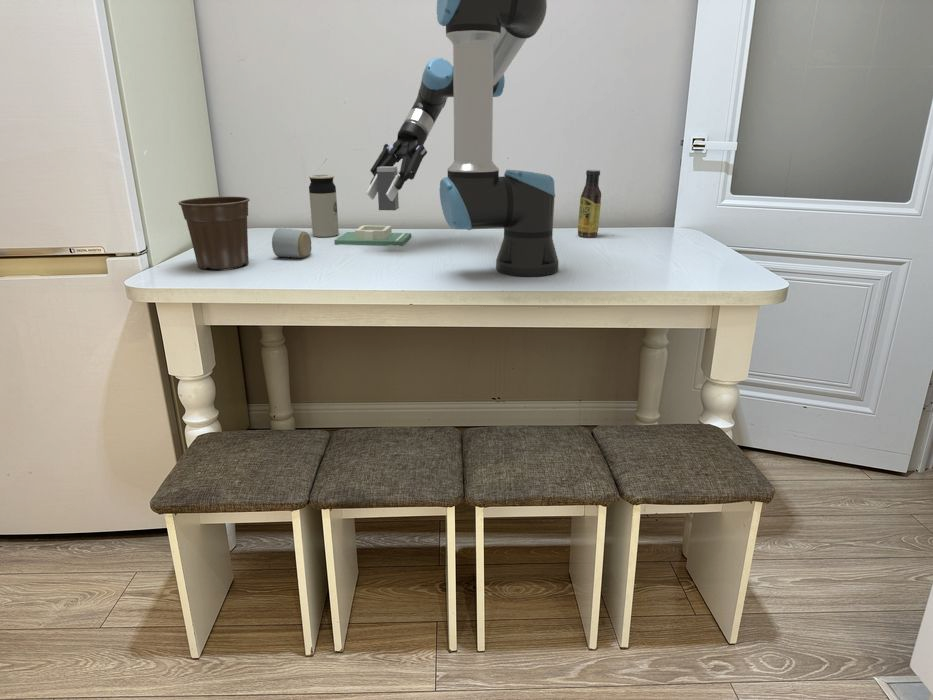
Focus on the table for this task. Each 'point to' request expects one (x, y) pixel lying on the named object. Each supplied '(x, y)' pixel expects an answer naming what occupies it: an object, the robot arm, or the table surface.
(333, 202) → the travel mug
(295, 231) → the ceramic mug
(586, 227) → the sauce bottle
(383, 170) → the plug
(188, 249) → the table surface
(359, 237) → the board
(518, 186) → the robot arm
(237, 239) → the plant pot
